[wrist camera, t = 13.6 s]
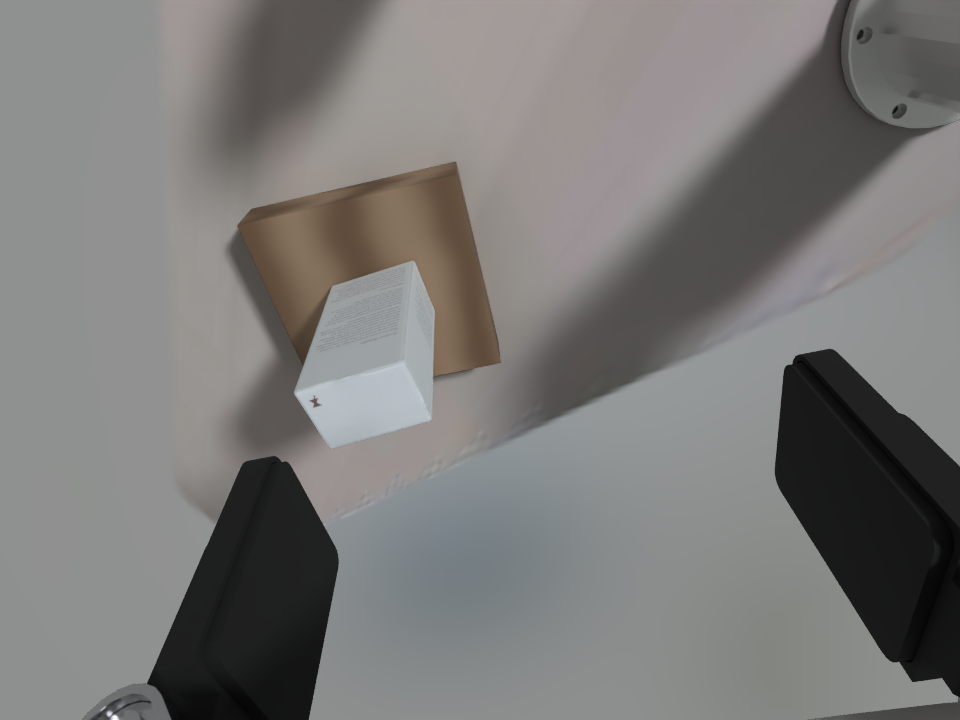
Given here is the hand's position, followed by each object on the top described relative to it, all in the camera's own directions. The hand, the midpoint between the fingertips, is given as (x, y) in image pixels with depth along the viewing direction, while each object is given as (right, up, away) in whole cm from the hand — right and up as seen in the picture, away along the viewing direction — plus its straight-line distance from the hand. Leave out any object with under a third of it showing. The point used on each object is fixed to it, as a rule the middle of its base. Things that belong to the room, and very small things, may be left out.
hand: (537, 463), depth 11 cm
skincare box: (-7, +6, +29) cm, 30 cm away
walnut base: (-8, +8, +31) cm, 33 cm away
